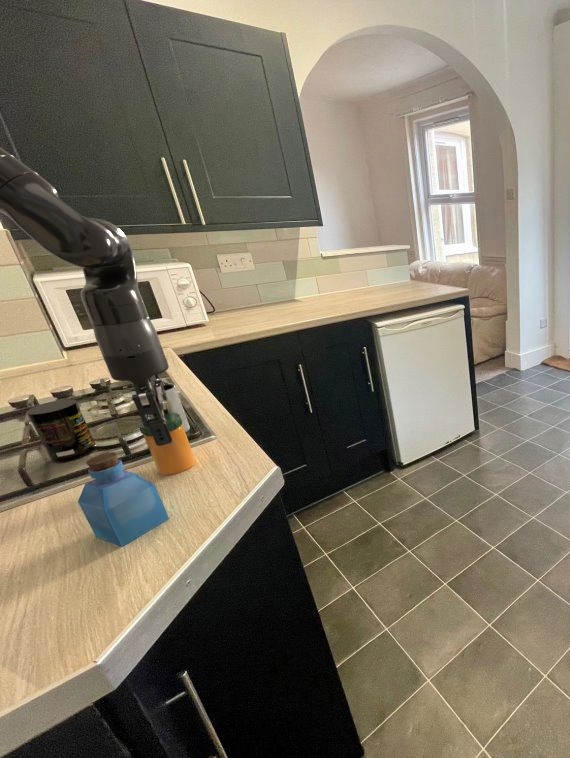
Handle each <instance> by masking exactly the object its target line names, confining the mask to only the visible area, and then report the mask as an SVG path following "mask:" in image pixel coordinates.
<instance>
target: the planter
mask: <svg viewBox="0 0 570 758" xmlns="http://www.w3.org/2000/svg"><path fill="white" fill-rule="evenodd" d="M163 386H164V390H165V392H166V395H167V398H168V399H167V401H166V402H167V403H168V407H167V408H168V410H169V413H177V414H179V415H180V416H181V419H182V425H183V427H184V430H185V433H187V432H189V431H190V429H191V427H190V424H189V421H188V418H187V415H186V412H185V410H184V407H183V404H182V401H181V399H180V395H179V392H178V390H177V387H176V385H175V384H173V383H171V384H170V383H168V384H167V383H166V384H163Z"/></svg>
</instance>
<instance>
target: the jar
mask: <svg viewBox="0 0 570 758" xmlns="http://www.w3.org/2000/svg"><path fill="white" fill-rule="evenodd" d="M169 432H170V434H171V437H172V442H171V443H169V444H165V445H161V446H158V445H156V443H155V440H154V438H153V435H143V434H142V435H143V438H144V440H145V443H146V445H147V449H148V450H149V453H150V455H151V458H152V460H153V463H154V465H155V467H156V470H157V473H158V474H159V475H161V476H171V475H176V474H180V473H182V472H184V471H187V470H189V469H190V468H192V467H193V466H194V465H195V464H196V461H197V460H196V458H195V455H194V452H193V450H192V447H191V444H190V441H189V438H188V436H187V432H185V430H184V427H183V425H181V426H179V427H178V428H176V429H174V430H172V431H169Z"/></svg>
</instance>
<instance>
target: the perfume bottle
mask: <svg viewBox="0 0 570 758" xmlns="http://www.w3.org/2000/svg"><path fill="white" fill-rule="evenodd" d="M85 464H86V465H87V466H88V468H89V469H88V470H87V471H88V474H89V477H90V478H91V479H93V480H91V481H88V482H86V483H84V486H83V487H82V491H81V493H80V496H79V497H78V501H77V503H78V505H79V507H80V509H81V511H82V513H83V515H84V517H85V519H86V521H87V523H88V525H89V527H90V528H91V530H92V532H93V535H94V537H95V538H98V539H100V540H104V541H106V542H108V543H111V544H113V545H117V546H120V547H123V548H124V547H125V546H126V545H128V544H130V543H132V542H133V541H134V540H136V539H138V538H140V537H141V536H143V535H145V534H146V533H148V532H149V531H151V530H153V529H155V528H156V527H158V526H159V525H161V524H163V523H164V522H166V521H167V520H169V519H170V517H169V515H168V513H167V512H168V511H167V510H166V508H165V507H166V506H165V504H164V503H163V500H162V498H161V495H160V493H159V491H158V488H157V485H156V484H155V483H153V482H151V481H150V480H148V479H146V478H145V477H143V476H141V475H139V474H138V473H136V472H132V471H129V470H126V469H124V467H125V466H124V464H123V461H122V459H119V458H118V454H117V452H113V451H110V452H105V453H101V454H97V455H94V456H92V457H91V458H89V459H87V460H86V462H85Z"/></svg>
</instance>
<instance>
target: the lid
mask: <svg viewBox="0 0 570 758" xmlns="http://www.w3.org/2000/svg"><path fill="white" fill-rule="evenodd" d="M164 416H165V418H166V424H167V427H168V429H169V431H172V430H174V429H176V428H178V427H179V426H181V425H182V419H181V416H180V415H179V414H177V413H167V414H164ZM149 418H150V419H155V418H158V417H157V416H153V415H152V416H150V417H149ZM138 428H139V431H140V434H141V435H152V433H151V430H150V428H145V426H143V422H142V421H141V422H139V424H138Z"/></svg>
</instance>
